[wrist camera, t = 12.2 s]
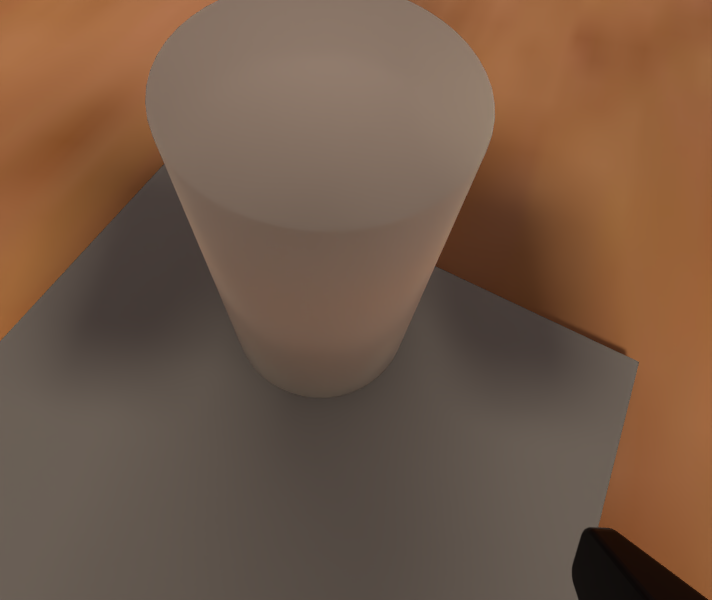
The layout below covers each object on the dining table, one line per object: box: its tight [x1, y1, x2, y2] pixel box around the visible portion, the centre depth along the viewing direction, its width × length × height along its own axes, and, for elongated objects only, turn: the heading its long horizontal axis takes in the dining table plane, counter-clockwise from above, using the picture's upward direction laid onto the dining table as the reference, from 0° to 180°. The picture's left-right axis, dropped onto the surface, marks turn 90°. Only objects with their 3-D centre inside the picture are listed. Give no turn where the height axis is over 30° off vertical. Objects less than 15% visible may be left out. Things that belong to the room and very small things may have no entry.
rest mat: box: [0, 164, 639, 600], centre depth 16 cm, size 16×20×1 cm
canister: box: [145, 0, 495, 398], centre depth 13 cm, size 6×6×10 cm
